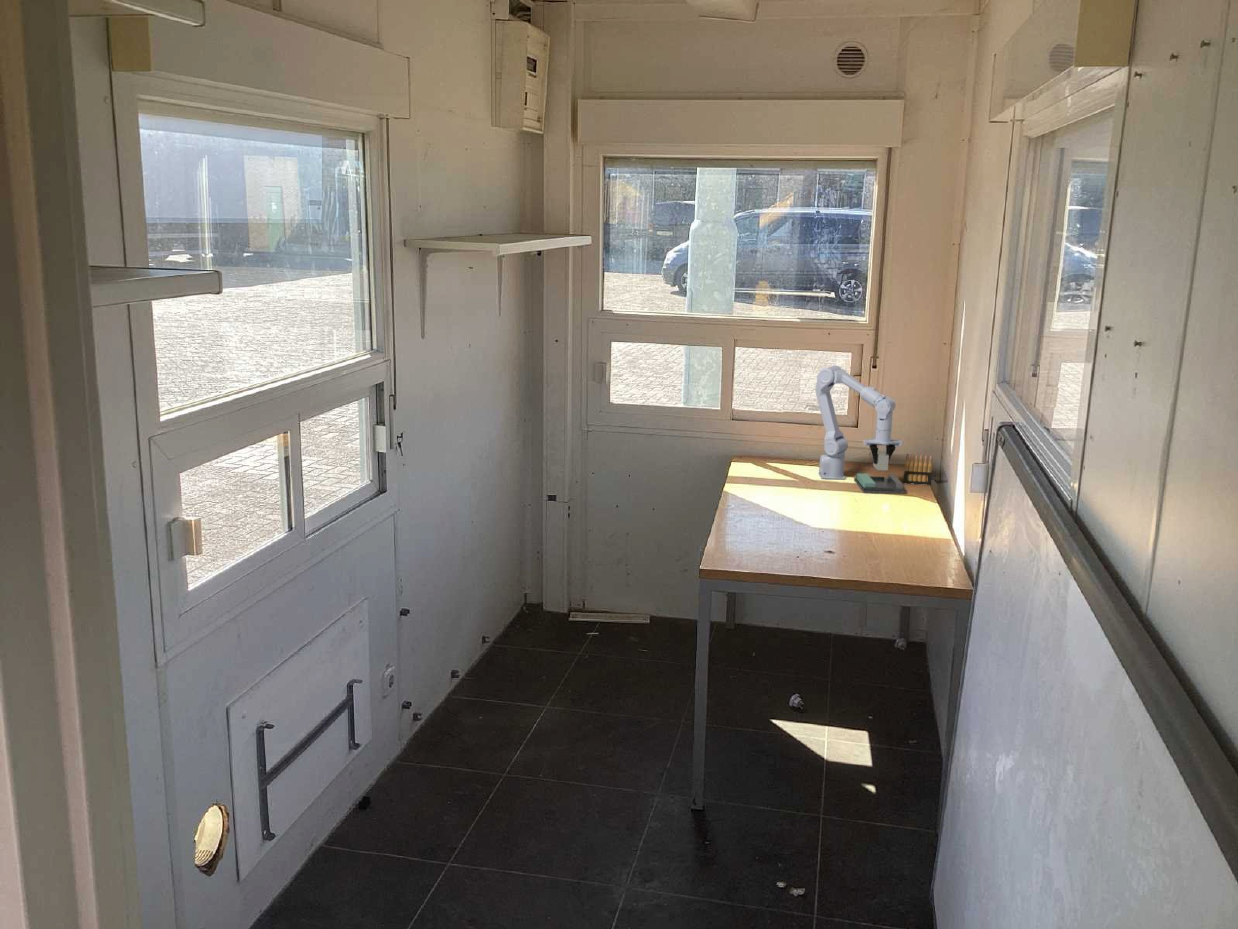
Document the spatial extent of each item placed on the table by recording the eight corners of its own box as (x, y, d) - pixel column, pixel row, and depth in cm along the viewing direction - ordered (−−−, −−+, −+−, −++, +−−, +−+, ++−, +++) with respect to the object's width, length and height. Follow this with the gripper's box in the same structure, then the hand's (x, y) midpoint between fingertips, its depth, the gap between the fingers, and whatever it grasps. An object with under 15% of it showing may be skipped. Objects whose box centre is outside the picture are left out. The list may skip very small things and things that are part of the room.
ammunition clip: (902, 483, 424) (905, 453, 421) (902, 482, 426) (905, 452, 422) (931, 485, 422) (933, 455, 419) (930, 484, 424) (933, 454, 421)
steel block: (877, 470, 416) (878, 455, 414) (873, 465, 423) (874, 450, 421) (887, 470, 416) (888, 455, 414) (883, 465, 423) (884, 450, 421)
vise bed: (864, 493, 409) (864, 484, 408) (854, 480, 427) (854, 472, 426) (906, 493, 409) (907, 485, 408) (894, 481, 427) (895, 472, 426)
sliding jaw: (864, 488, 411) (864, 483, 410) (856, 478, 424) (857, 473, 424) (875, 488, 411) (875, 483, 410) (866, 478, 424) (867, 473, 424)
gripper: (867, 431, 411) (864, 465, 415) (905, 431, 411) (902, 466, 415) (863, 427, 418) (860, 461, 421) (900, 427, 418) (897, 461, 422)
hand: (880, 463), depth 418 cm, fingers closed on steel block, 4 cm apart
